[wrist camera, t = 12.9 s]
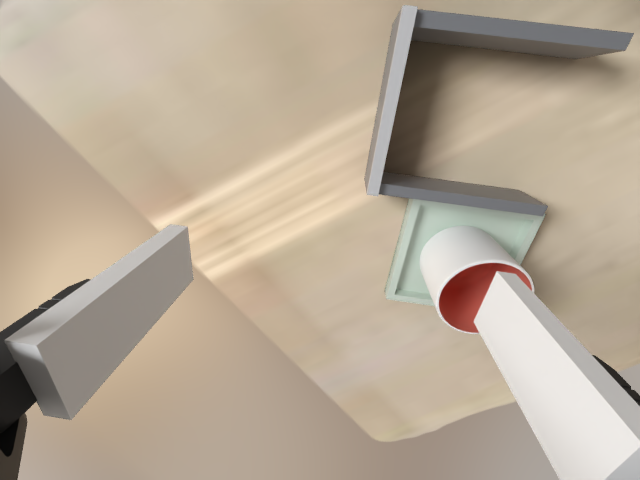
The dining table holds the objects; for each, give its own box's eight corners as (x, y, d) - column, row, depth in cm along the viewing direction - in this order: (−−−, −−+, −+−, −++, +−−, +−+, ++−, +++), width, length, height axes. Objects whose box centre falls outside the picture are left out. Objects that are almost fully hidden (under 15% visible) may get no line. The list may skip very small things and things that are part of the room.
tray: (410, 191, 37) (413, 196, 35) (535, 208, 37) (545, 214, 35) (384, 290, 45) (386, 298, 43) (489, 305, 44) (495, 315, 42)
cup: (405, 243, 40) (420, 285, 31) (477, 208, 37) (517, 244, 28) (435, 294, 43) (456, 345, 34) (503, 266, 40) (547, 314, 31)
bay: (392, 23, 30) (403, 5, 24) (581, 45, 29) (642, 31, 23) (364, 178, 37) (367, 194, 31) (514, 199, 36) (547, 219, 30)
